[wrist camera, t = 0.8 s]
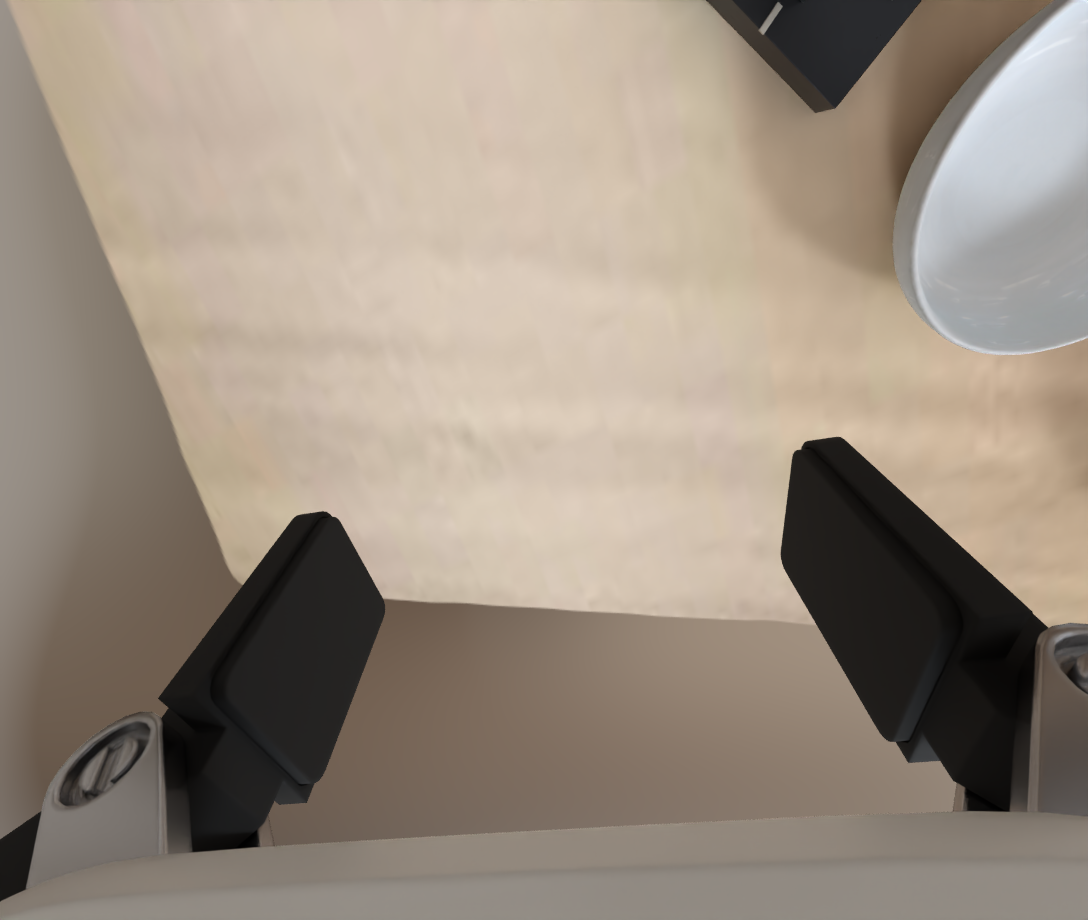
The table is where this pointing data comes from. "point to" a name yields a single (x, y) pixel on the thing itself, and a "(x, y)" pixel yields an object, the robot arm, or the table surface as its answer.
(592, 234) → the table surface
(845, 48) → the tap console
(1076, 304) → the serving bowl
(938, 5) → the table surface
